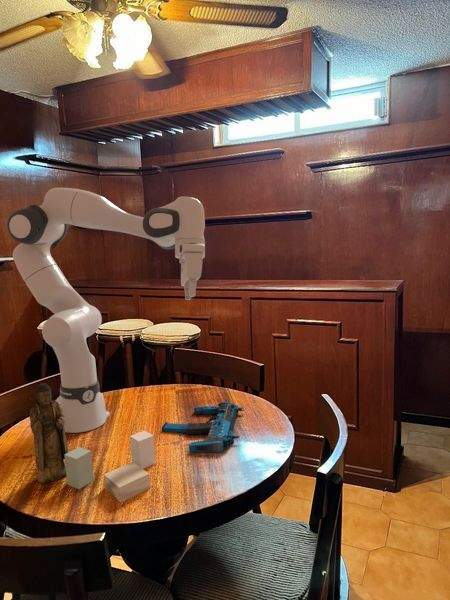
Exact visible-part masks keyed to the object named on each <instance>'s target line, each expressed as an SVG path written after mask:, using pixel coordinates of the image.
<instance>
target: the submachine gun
mask: <svg viewBox="0 0 450 600" xmlns="http://www.w3.org/2000/svg"><path fill="white" fill-rule="evenodd" d="M193 411H194V414H197V415H198V414H199V415H202V414H203V415H216V414H217V416H212V417H209V418H208V420H207V421H206V422H189V423H171V422H167V421H166V422H164V423H163V425H162V426H161V432H162V433H164V432H165V433H166V432H167V433H168V432H169V433H186V434H187V435H199V434H200V435H201V434H208V435H207V438H206V439H205V440H199V441H192V442H190V443H189V445H188V451H189V452H191V453H194V452H195V453H222V452H223V451H224V449H229V444H234V443H235V439H240V435H234V432H233V431H234V427H235V423H236V417H237V414H238V413H239V412H244V411H245V409H244V407H243V406H242V407H239V405H238V404H235V403H233V402H230V400H229V399H228V398H226V399H225V401H221V402H220V403H218V405H210V406H209V405H206V406H193Z"/></svg>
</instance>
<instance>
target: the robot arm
mask: <svg viewBox="0 0 450 600" xmlns="http://www.w3.org/2000/svg"><path fill="white" fill-rule="evenodd" d="M42 202H43V203H42V204H41V205H37V204H31V205H29V206H26V207H23V208H20V209H18V210H15V211H13V212H12V213H11V214H10V215H9V217H8V219H7V222H6V228H7V233H8V234H9V236H10V238H12V239H13V240H14V241H16V242H18V243H19V244H18V245H16V246H15V248H14V250H12V258H13V261H14V264H15V266H16V269H17V270H18V272H19V274H20V276H21V278H22V280H23V281H24V283H25V284H26V286H27V288H28V289H29V291H30V292H31V295H33V297H34V298H35V300H36V302H37V303H38V304H40V306H43V307H46V309H48V310H50V312H51V313H53V314H52V315H51V316H50V317H49V318H48V319H47V320H45V322H44V323H43V325H42V330H41V333H42V338H43V340H44V341H45V342H46V344H47V345H49V346H50V347H52V349H53V351H54V354H55V356H56V358H57V361H58V365H59V373H60V381H61V383H60V387H59V396H58V397H57V398H56V399H55V400H54V401H57V402H58V403H59V404H60V406H61V408H62V411H63V414H64V417H65V418H64V419H65V425H64V427H65V433H70V434H71V433H73V434H76V433H77V434H78V433H83V432H89V431H92V430H95V429H97V428H100V427H101V426H102V425H104V424H105V422H106V420H107V418H109V417H110V415H111V414H110V411H107V408H106V403H105V397H104V394H103V393H102V392H100V382H99V379H98V376H97V375H98V374H97V366H96V358H95V356H94V355H93V354H92V353H91V352H90V350H89V347H88V344H87V338H89V337H91V336H92V335H93V334H95V333H96V332H97V331H98V330H99V328H100V327H101V325H102V321H103V319H102V317H103V316H102V314H101V311H100V310H99V309H98V308H96V306H94V305H91V304H89V303H88V302H87V301H86V300H85V298H83V296H81V295H80V294H79V293H78V292H77V290H75V289H74V288H73V286H72V285H71V284H70V283H69V281H68V280H67V278H66V277H65V275H64V273H63V271H62V270H61V269H60V267H59V266H58V264H57V262H56V261H55V260H54V258H53V257H52V254H51V251H50V250H51V249H55V248H57V246H58V244H59V243H60V242H61V241H63V239H64V238H65V237H66V236H67V234H68V231H69V225H71V226H75V227H80V228H84V229H85V228H86V229H93V230H101V231H102V230H103V231H110V232H111V231H112V232H118V233H124V234H126V235H127V234H128V235H131V236H135V237H139V238H142V239H147V240H150V241H151V242H153V243H155V244H156V245H157V246H158V247H159V248H162V249H164V250H174V257H175V258H176V259H179V264H180V285H181V287H183V289H184V298H185V300H186V301H190V300H192V298H194V297H196V295H197V291H196V290H197V283H198V280H199V279H200V278H201V277H202V273H203V270H202V269H203V259H205V257H206V239H205V235H204V234H205V229H206V222H205V221H206V219H205V218H206V217H205V216H206V215H205V209H204V206H203V203H202V202H201V201H200V200H199V199H198V198H195V197H192V196H187V195H184V196H183V195H181V196H178V197H177V198H176V199H175V200H174V201H172V202H171V203H168V204H166V205H164V206H161V207H153V208H151V209H150V210H148V211H147V212H146V214H144V217H142V216H140V215H135V214H132V213H128V212H126V211H124V210H122V209H121V208H119V207H118V206H117V205H115V204H114V203H112V201H110V200H108V199H107V198H106V197H104V196H102V195H100V194H98V193H95V192H92V191H88V190H84V189H79V188H73V187H72V188H71V187H53V188H51V189H49V190H48V191H47V192H46V193H45V195H44V197H43V201H42Z"/></svg>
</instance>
